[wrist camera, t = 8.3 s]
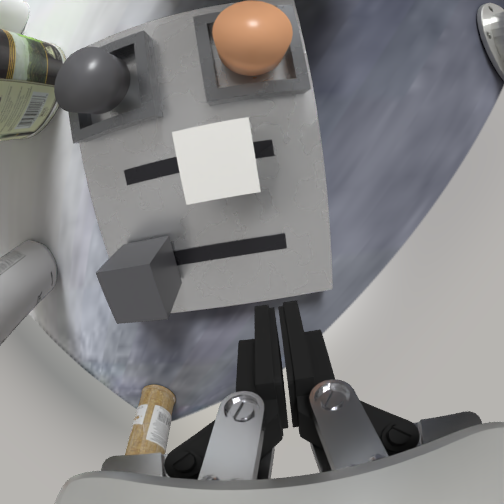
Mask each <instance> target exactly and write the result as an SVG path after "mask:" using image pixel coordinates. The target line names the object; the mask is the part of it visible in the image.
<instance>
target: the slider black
mask: <svg viewBox="0 0 504 504" xmlns="http://www.w3.org/2000/svg"><path fill="white" fill-rule="evenodd" d="M96 275H97V277H98V280H99V283H100V285H101V288H102V290H103V293H104V295H105V297H106V300H107V302H108V304H109V307H110V309H111V311H112V314H113V316H114V318H115V320H116V322H117V324H119V323H132V322H143V321H154V320H165V319H169V316H170V313H171V311H172V308H173V305H174V302H175V300H176V297H177V294H178V292H179V289H180V287H181V284H182V281H181V277H180V274H179V271H178V267H177V264H176V260H175V256H174V253H173V249H172V245H171V242H170V238H169V236H165V237H160V238H155V239H149V240H144V241H139V242H134V243H129V244H124V245H122V246H121V247H120V248H119V249H118V250H117V251H116V252H115V253H114V254H113V255H112V256H111V257H110V258H109V259H108V260H107V261H106V262H105V264H104V265H103V266H102V267H101V268H100V269H99V270H98V271H97V272H96Z"/></svg>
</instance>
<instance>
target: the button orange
mask: <svg viewBox="0 0 504 504" xmlns="http://www.w3.org/2000/svg"><path fill="white" fill-rule="evenodd" d="M212 33H213V39H214V42H215V46H216V49H217V52H218V55H219V58H220V60H221V61H222V63H223V64H224V65H225V66H226V67H227V68H228V69H230V70H231V71H233V72H235V73H238V74H241V75H246V76H257V75H262V74H265V73H267V72H269V71H271V70H273V69H274V68H275V67H277V66H278V65H279V63H280V62H281V60H282V59H283V57H284V55H285V53H286V51H287V49H288V47H289V45H290V43H291V40H292V36H293V30H292V25H291V22H290V20H289V19H288V17H287V16H286V15H285V14H284V12H282V11H281V10H280V9H279V8H277V7H276V6H274V5H272V4H269V3H266V2H262V1H252V0H251V1H242V2H238V3H235V4H233V5H231V6H229V7H227V8H226V9H224V10H223V11H222V12H221V13H220V14H219V15H218V17H217V18H216V20H215V22H214V25H213V31H212Z"/></svg>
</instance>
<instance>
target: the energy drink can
mask: <svg viewBox="0 0 504 504" xmlns="http://www.w3.org/2000/svg"><path fill="white" fill-rule="evenodd" d="M56 276H57V265H56V261H55V259H54V257H53V255H52V253H51V252H50V250H49V249H48V248H47V247H46V246H45V245H43V244H41V243H39V242H35V241H25V242H24V243H22V244H21V245H19V246H17V247H16V248H14V249H13V250H11V251H10V252H8V253H7V254H6V255H4V256H3V257H1V258H0V345H1V344H2V343H3V342H4V340H5V339H6V338H7V337H8V336H9V335H10V334H11V332H12V331H13V330H14V329H15V328H16V327H17V326H18V325H19V323H20V322H21V321H22V320H23V319H24V318H25V317H26V316H27V315H28V314H29V313H30V311H31V310H32V309H33V308H34V307H35V306H36V305H37V304H38V303H39V302H40V301H41V300H42V299H43V298H44V297H45V296H46V295H47V294H48V293H49V292H50V291H51V290H52V289H53V287H54V286H55V283H56V278H57V277H56Z"/></svg>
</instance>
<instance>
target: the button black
mask: <svg viewBox="0 0 504 504" xmlns="http://www.w3.org/2000/svg"><path fill="white" fill-rule="evenodd" d="M129 86H130V71H129V68H128V66H127V65H126V63H125V62H124V61H122V60H121V59H119V58H117V57H115V56H114V55H112V54H110V53H108V52H106V51H104V50H103V49H101V48H98V47H85V48H82V49H80V50H78V51H76V52H75V53H73V54H72V55H71V56H69V57H68V58H67V60H66V61H65V62H64V63H63V65H62V66H61V68H60V70H59V71H58V74H57V76H56V80H55V86H54V93H55V98H56V101H57V103H58V104H59V106H60V107H61V108H62V109H64V110H66V111H68V112H76V113H89V114H103V113H106V112H109V111H111V110H112V109H114V108H115V107H116V106H118V105H119V104H120V102H121V101H122V100H123V99H124V97H125V95H126V94H127V91H128V89H129Z"/></svg>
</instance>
